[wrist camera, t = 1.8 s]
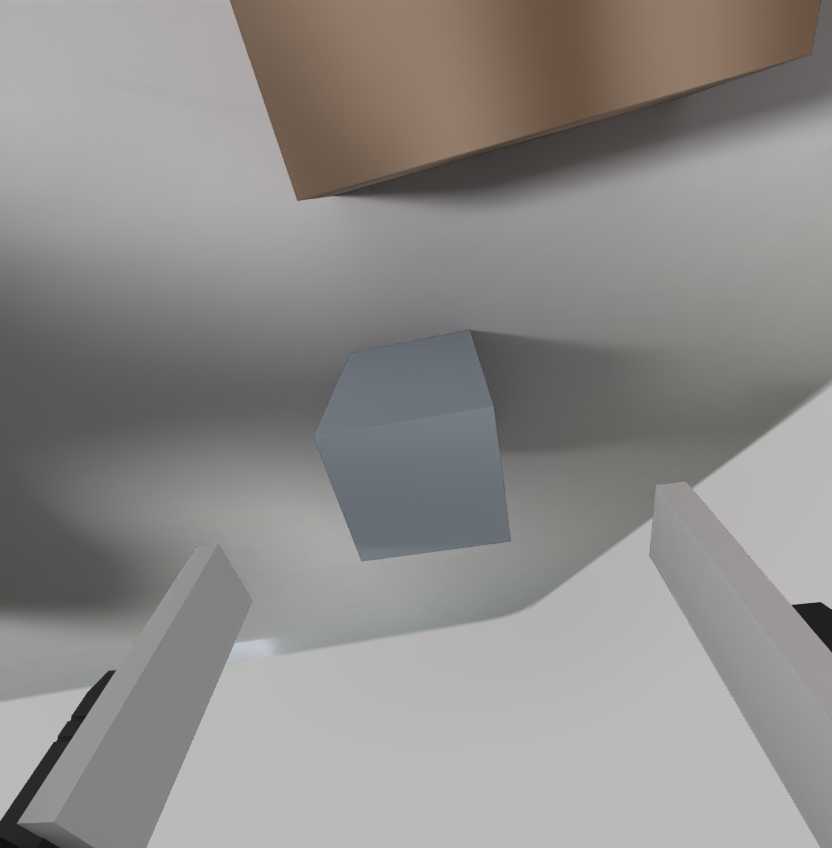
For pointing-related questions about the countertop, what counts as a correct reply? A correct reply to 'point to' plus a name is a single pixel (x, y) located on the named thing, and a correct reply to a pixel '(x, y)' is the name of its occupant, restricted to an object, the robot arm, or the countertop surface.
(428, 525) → the slate block
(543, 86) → the walnut block
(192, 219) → the countertop surface
